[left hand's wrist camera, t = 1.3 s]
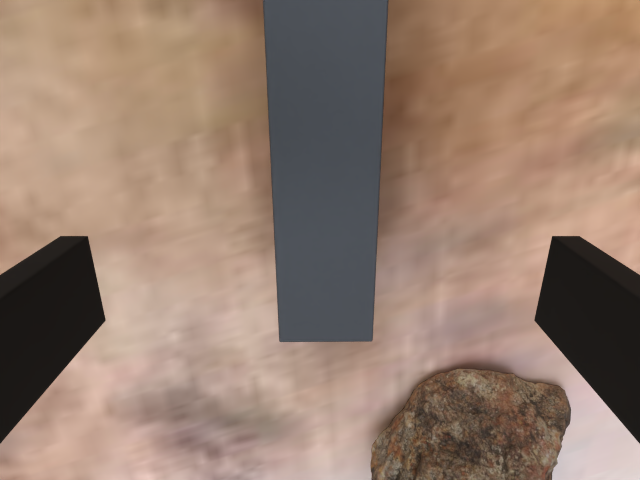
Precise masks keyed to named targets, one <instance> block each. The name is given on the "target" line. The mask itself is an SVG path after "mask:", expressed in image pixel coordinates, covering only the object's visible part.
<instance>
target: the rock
mask: <svg viewBox="0 0 640 480" xmlns="http://www.w3.org/2000/svg"><path fill="white" fill-rule="evenodd" d="M570 416H571V408H570V404H569V401H568V399H567V396H566V394H565V391H564V390H563V389H562V388H561V387H559V386H555V385H549V384H545V383H536V384H534V383H532V382H526V381H524V380H522V379H520V378H518V377H516V376H515V375H514V374H513V373H512V374H508V373H500V372H496V371H491V370H477V369H456V370H453V371H449V372H444V373H439V374H437V375H435V376H433V377H431V378H429V379H428V380H426V381H424V382H422V383H421V384H419V385H418V387H417V388H416V389H415V390H414V391H413V393H412V395H411V397H410V398H409V400H408V402H407V403H406V405H405V407H404V409H403V410H402V411H401V412H400V413H399V414H398V415H396V417H395V418H394V419H393V421H392V422H391V424H390V425H389V426H388V427H387V428H386V429H385V430H384V431H383V432H382V433H381V434H380V435H379V436H378V438H377V439H376V441H375V442H374V444H373V445H372V459H371V472H372V480H552V471H553V468H554V467H555V466H556V465H557V464H558V463H557V457H558V455H559V452H560V450H561V447H562V445H561V442H562V440H563V436H564V434H565V430H566V428H567V427H568V425H569V424H570Z"/></svg>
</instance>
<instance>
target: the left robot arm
mask: <svg viewBox="0 0 640 480" xmlns="http://www.w3.org/2000/svg"><path fill="white" fill-rule="evenodd" d="M104 322H105V315H104V311H103V306H102V301H101V296H100V292H99V287H98V282H97V278H96V273H95V268H94V263H93V259H92V254H91V249H90V245H89V240H88V236H60V237H59V238H57V239H56V240H54V241H52V242H51V243H49V244H48V245H46V246H45V247H43V248H42V249H40V250H38V251H37V252H35V253H34V254H32V255H31V256H29V257H28V258H26V259H24V260H23V261H21V262H20V263H18V264H17V265H15V266H14V267H12V268H10V269H9V270H7V271H6V272H4V273H3V274H1V275H0V443H1V442H2V441H3V440H4V439H5V437H6V436H7V435H8V434H9V433H10V432H11V430H12V429H13V428H14V427H15V426H16V424H17V423H18V422H19V421H20V420H21V419H22V417H23V416H24V415H25V414H26V413H27V412H28V410H29V409H30V408H31V407H32V406H33V405H34V403H35V402H36V401H37V400H38V399H39V398H40V396H41V395H42V394H43V393H44V392H45V391H46V389H47V388H48V387H49V386H50V385H51V384H52V382H53V381H54V380H55V379H56V378H57V377H58V375H59V374H60V373H61V372H62V371H63V370H64V368H65V367H66V366H67V365H68V364H69V363H70V361H71V360H72V359H73V358H74V357H75V355H76V354H77V353H78V352H79V351H80V350H81V348H82V347H83V346H84V345H85V344H86V343H87V341H88V340H89V339H90V338H91V337H92V336H93V334H94V333H95V332H96V331H97V330H98V329H99V327H100V326H101V325H102V324H103V323H104ZM535 322H536V323H537V324H538V325H539V326H540V327H541V329H542V330H543V331H544V332H545V333H546V334H547V336H548V337H549V338H550V339H551V340H552V341H553V343H554V344H555V345H556V346H557V347H558V348H559V350H560V351H561V352H562V353H563V354H564V355H565V357H566V358H567V359H568V360H569V361H570V363H571V364H572V365H573V366H574V367H575V368H576V370H577V371H578V372H579V373H580V374H581V375H582V377H583V378H584V379H585V380H586V381H587V382H588V384H589V385H590V386H591V387H592V388H593V389H594V391H595V392H596V393H597V394H598V395H599V396H600V398H601V399H602V400H603V401H604V402H605V403H606V405H607V406H608V407H609V408H610V409H611V410H612V412H613V413H614V414H615V415H616V416H617V417H618V419H619V420H620V421H621V422H622V423H623V424H624V426H625V427H626V428H627V429H628V430H629V432H630V433H631V434H632V435H633V436H634V437H635V439H636V440H637V441H638V442H639V443H640V275H639V274H637V273H636V272H634V271H633V270H631V269H630V268H628V267H626V266H625V265H623V264H622V263H620V262H619V261H617V260H616V259H614V258H612V257H611V256H609V255H608V254H606V253H605V252H603V251H602V250H600V249H598V248H597V247H595V246H594V245H592V244H591V243H589V242H588V241H586V240H584V239H583V238H581V237H580V236H552V240H551V245H550V249H549V254H548V259H547V263H546V268H545V273H544V278H543V282H542V287H541V292H540V296H539V301H538V306H537V311H536V315H535Z"/></svg>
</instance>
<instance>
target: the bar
mask: <svg viewBox="0 0 640 480" xmlns="http://www.w3.org/2000/svg"><path fill="white" fill-rule="evenodd" d="M263 10H264V31H265V52H266V73H267V94H268V115H269V136H270V156H271V177H272V198H273V219H274V240H275V261H276V281H277V302H278V323H279V341H280V342H353V341H372V340H373V319H374V297H375V276H376V254H377V233H378V211H379V190H380V168H381V147H382V125H383V104H384V82H385V61H386V40H387V18H388V0H263Z"/></svg>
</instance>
